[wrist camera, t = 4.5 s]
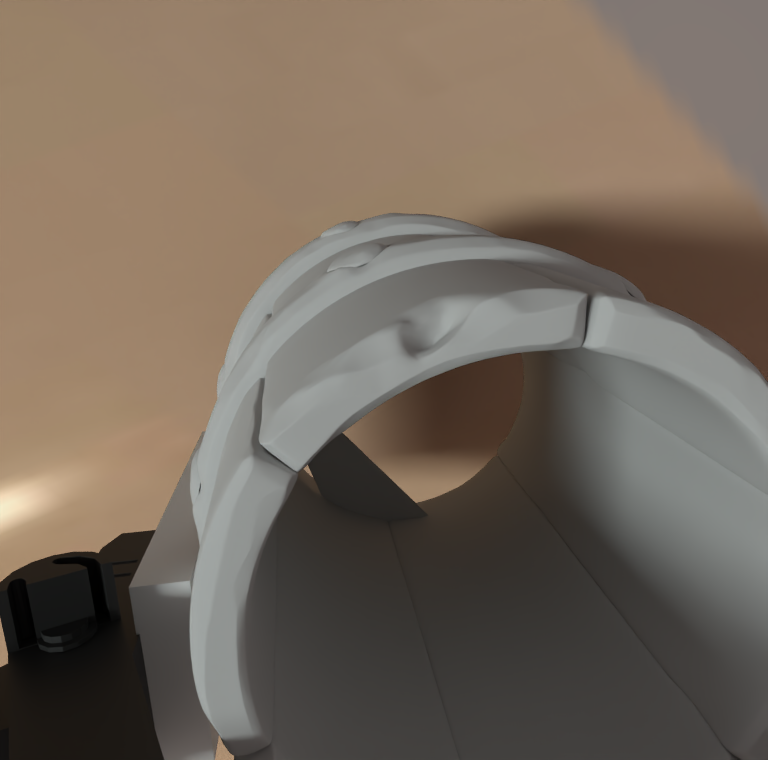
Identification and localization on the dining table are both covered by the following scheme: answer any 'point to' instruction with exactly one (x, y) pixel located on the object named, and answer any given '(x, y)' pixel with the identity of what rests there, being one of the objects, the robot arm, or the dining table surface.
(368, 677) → the mug
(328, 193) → the dining table surface
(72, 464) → the dining table surface
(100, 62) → the dining table surface
